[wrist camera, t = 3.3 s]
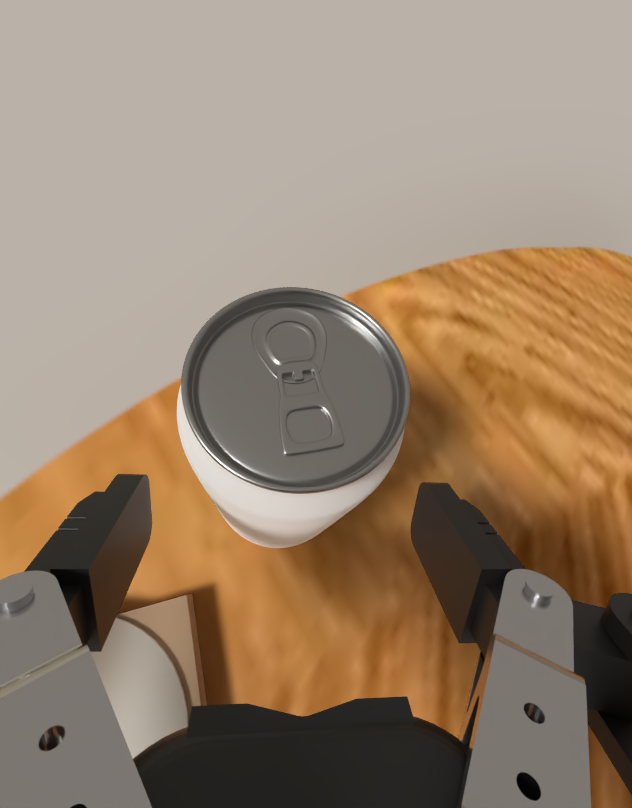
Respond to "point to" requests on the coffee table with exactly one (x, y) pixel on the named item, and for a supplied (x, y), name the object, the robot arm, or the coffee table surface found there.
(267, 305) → the can
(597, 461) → the coffee table surface
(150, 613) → the board
